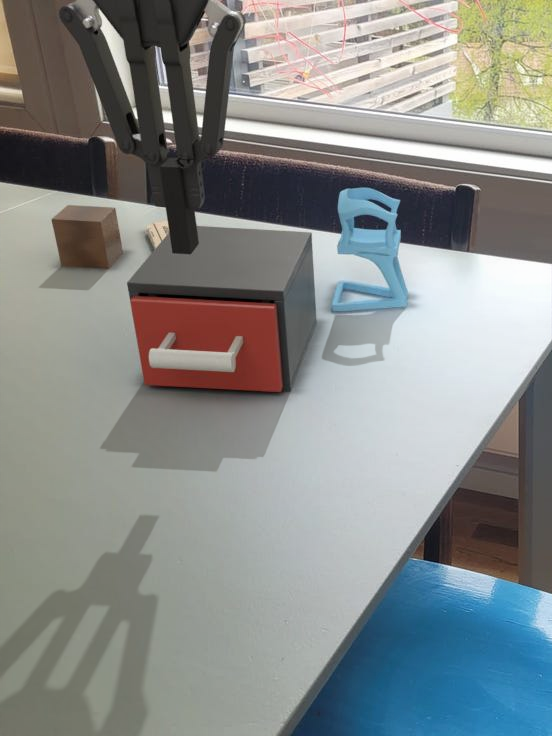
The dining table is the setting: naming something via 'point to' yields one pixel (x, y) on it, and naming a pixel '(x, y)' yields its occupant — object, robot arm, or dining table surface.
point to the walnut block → (87, 236)
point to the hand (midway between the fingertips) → (185, 248)
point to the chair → (370, 249)
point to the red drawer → (208, 342)
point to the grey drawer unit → (243, 279)
